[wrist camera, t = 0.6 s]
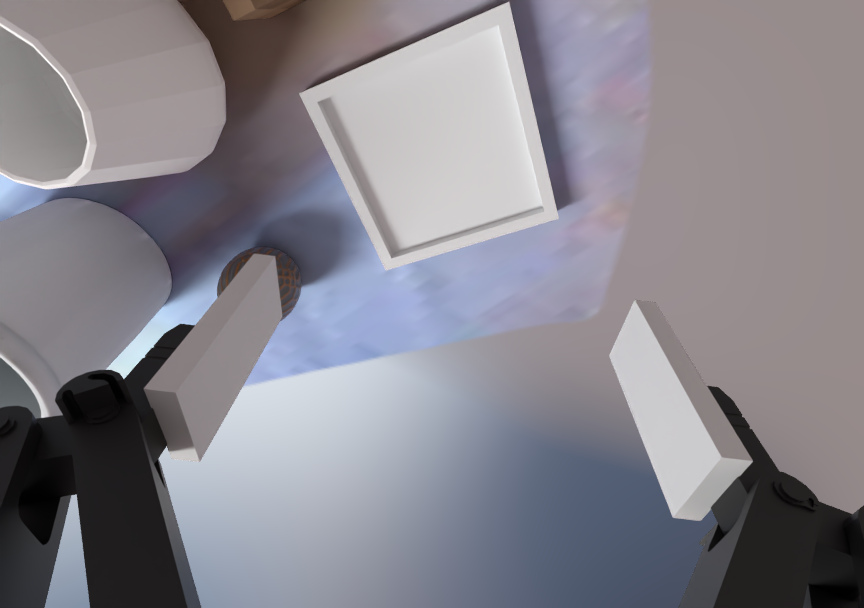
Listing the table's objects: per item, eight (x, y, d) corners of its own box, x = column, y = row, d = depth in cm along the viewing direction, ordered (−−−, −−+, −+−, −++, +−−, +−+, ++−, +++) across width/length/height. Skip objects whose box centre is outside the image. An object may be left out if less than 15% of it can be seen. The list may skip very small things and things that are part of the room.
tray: (305, 90, 34) (299, 93, 33) (507, 1, 30) (509, 1, 29) (388, 262, 42) (385, 270, 41) (555, 211, 38) (558, 218, 37)
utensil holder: (150, 192, 40) (-31, 300, 25) (199, 323, 48) (83, 460, 34) (-4, 186, 40) (-266, 288, 26) (70, 317, 49) (-97, 448, 34)
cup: (262, 164, 37) (172, 235, 26) (110, 154, 38) (-46, 220, 26) (227, -34, 30) (76, -57, 18) (36, -43, 30) (-227, -71, 19)
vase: (312, 300, 45) (282, 356, 38) (246, 293, 45) (204, 348, 38) (306, 240, 41) (272, 290, 34) (234, 232, 41) (185, 280, 34)
